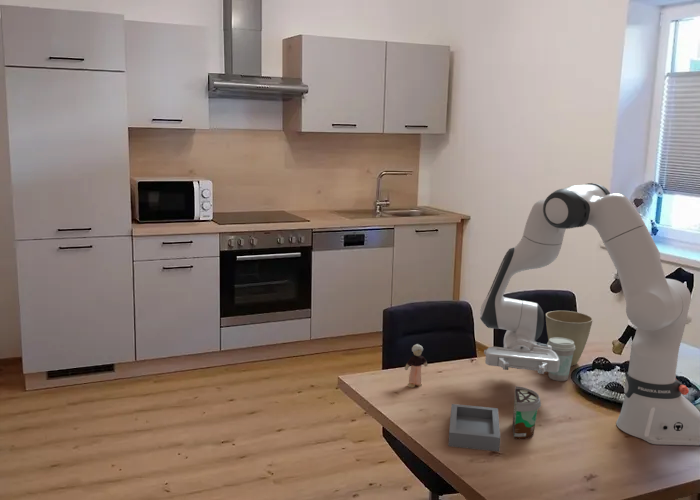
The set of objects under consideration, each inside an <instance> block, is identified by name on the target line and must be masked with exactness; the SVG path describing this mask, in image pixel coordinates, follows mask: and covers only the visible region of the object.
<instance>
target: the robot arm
mask: <svg viewBox="0 0 700 500" xmlns="http://www.w3.org/2000/svg"><path fill="white" fill-rule="evenodd" d="M585 226H592V227H593V228H595V230H596V231H597V233H598V235H599V237H600V238H601V241H602V243H603V245H604V247H605V250H606V251H607V253H608V255H609V257H610V259H611V261H612V263H613V266H614V267H615V270H616V272H617V275H618V279H619V282H620V285H621V289H622V293H623V296H624V299H625V303H626V304H625V312H626V315H627V319H628V320H629V322H630V323H631V324H632V325H633V326H635V328H636V327H637V328H636V331H635V335H634V337H633V340H632V342H631V344H630V354H629V355H630V356H629V362H628V363H629V364H628V371H627V372H626V377H625V379H624V380H625V381H624V389H623V391H624V399H623V403H622V407H621V409H620V411H619V415H618V418H617V420H616V423H615V424H616V426H617V427H618V429H620V430H621V431H623V432H624V433H626V434H628V435H630V436H633V437H635V438H639V439H642V440H644V441H645V442H647V443H649V444H652V445H665V446H667V445H669V446H670V445H671V446H700V411H699V409H698V408H697V407H696V406H695V405H694V404H693V403H692V402H691V401H690V400H689V399H688V398H686V397H685V396H687V395H688V394H689V392H690V389H689V388H688V387H687V386H686V385H685V384H683V383H682V382H681V381H680V380H679V379H677V378H676V375H677V369H678V368H677V367H678V360H679V353H680V346H681V342H682V340H683V336H684V332H685V328H686V324H687V319H688V313H689V309H690V305H691V302H692V294H691V292H690V290H689V288H688V287H687V285H686V284H684V283H683V282H681V281H679V280H677V279H673V278H666V275H665V273H664V269H663V265H662V261H661V253H660V251H659V249H658V246H657V244H656V242H655V241H654V238H653V237H652V235H651V233H650V231H649V229H648V227H647V226H646V224H645V221H644V220H643V218H642V216H641V214H640V212H638V209H636V207H635V206H634V204H633V203H632V202H631V201H630V199H629V198H628V197H627V196H626V195H624V194H622V193H619V192H618V193H617V192H616V193H615V192H614V193H611V192H610V190H609V189H608V188H607V187H605V186H604V185H602V184H599V183H593V182H591V183H585V184H573V185H570V186H567V187H564V188H559V189H557V190H554V191H553V192H551V193H550V194H549V195H548V196H547V197H546V198H544V199H540V200H538V201H536V202H535V203H534V204H533V206H532V208H531V210H530V212H529V214H528V217H527V219H526V222H525V226H524V230H523V234H522V237H521V239H520V241H519V242H518V243H517V244H516V245H515V246H514V247H510V248H508V250H507V252H506V253H505V255H504V257H503V259H502V261H501V263H500V265H499V267H498V270H497V271H496V274H495V277H494V279H493V281H492V284H491V286H490V289H489V290H488V292H487V295H486V297H485V299H484V300H483V302H482V304H481V307H480V310H479V311H480V312H479V316H480V320H481V322H482V323H483V325H484V326H486V328H488V329H496V330H499V329H500V330H506V331H505V334H504V337H503V347H500V346H489V347H488V348H486V349H484V351H483V354H484V356H485V359H484V360H485V361H484V362H485V365H487V366H492V367H499V368H502V370H504V371H508V370H509V369H510V368H511V369H517V370H518V369H519V370H530V371H537V373H538V374H542V375H544V374H545V372H547V373H548V372H558V371H559V365H560V360H559V357H558V355H557V354H556V353H555V352H554V351H552V346H550V345H547V343H541V342H538V341H537V340H538V339H539V338H540V337H541V336H542V333H543V330H544V326H545V325H544V324H545V314H544V311H543V309H542V307H541V306H540V305H539V303H538V302H534V301H528V300H524V299H522V300H521V299H516V298H511V297H506V296H504V294H505V293H506V289H507V287H508V285H509V283H510V281H511V278H513V276H514V275H516V274H518V273H520V272H524V271H528V270H535V269H536V270H537V269H541V268H544V267H547V266H549V265H551V264H552V263H553V262H555V261H556V260H557V258H558V257H559V254H560V251H561V248H562V245H563V242H564V237H565V232H566V230H568V229H575V228H581V227H585Z"/></svg>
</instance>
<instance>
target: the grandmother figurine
mask: <svg viewBox="0 0 700 500" xmlns="http://www.w3.org/2000/svg"><path fill="white" fill-rule="evenodd" d="M423 351H424V348H423V346H422V345H420V344H419V343H416V344H414V345H413V346H412V347H411V352H413V353H412V354H413V355H412V356H411V357H410V358H409V359H408V361H407V362H406V364H405V367H404V370H405V371H408V370H409V367H410V371H409V375H408V384H407V386H408V388H416V387H422V386H423V383H422V364H423V366H424V367H428V362H427V359H426V357H424V356H423V355H422V353H423Z"/></svg>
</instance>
